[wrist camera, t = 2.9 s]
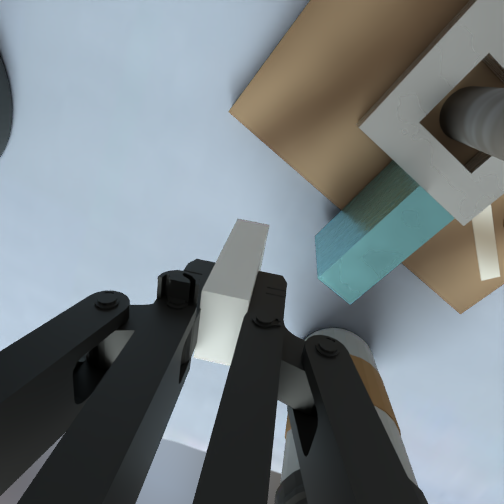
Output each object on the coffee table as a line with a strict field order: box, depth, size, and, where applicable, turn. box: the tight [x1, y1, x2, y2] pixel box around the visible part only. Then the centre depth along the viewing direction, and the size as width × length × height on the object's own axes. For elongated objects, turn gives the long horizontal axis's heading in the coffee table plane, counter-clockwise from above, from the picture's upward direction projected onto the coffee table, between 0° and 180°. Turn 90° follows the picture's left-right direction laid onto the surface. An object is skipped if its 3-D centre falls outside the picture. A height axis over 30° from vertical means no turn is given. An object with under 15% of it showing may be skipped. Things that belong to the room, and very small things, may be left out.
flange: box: [315, 0, 504, 305], centre depth 20 cm, size 9×16×6 cm, turn 141°
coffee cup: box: [275, 328, 428, 504], centre depth 25 cm, size 8×8×15 cm
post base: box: [229, 0, 504, 314], centre depth 19 cm, size 22×18×8 cm
